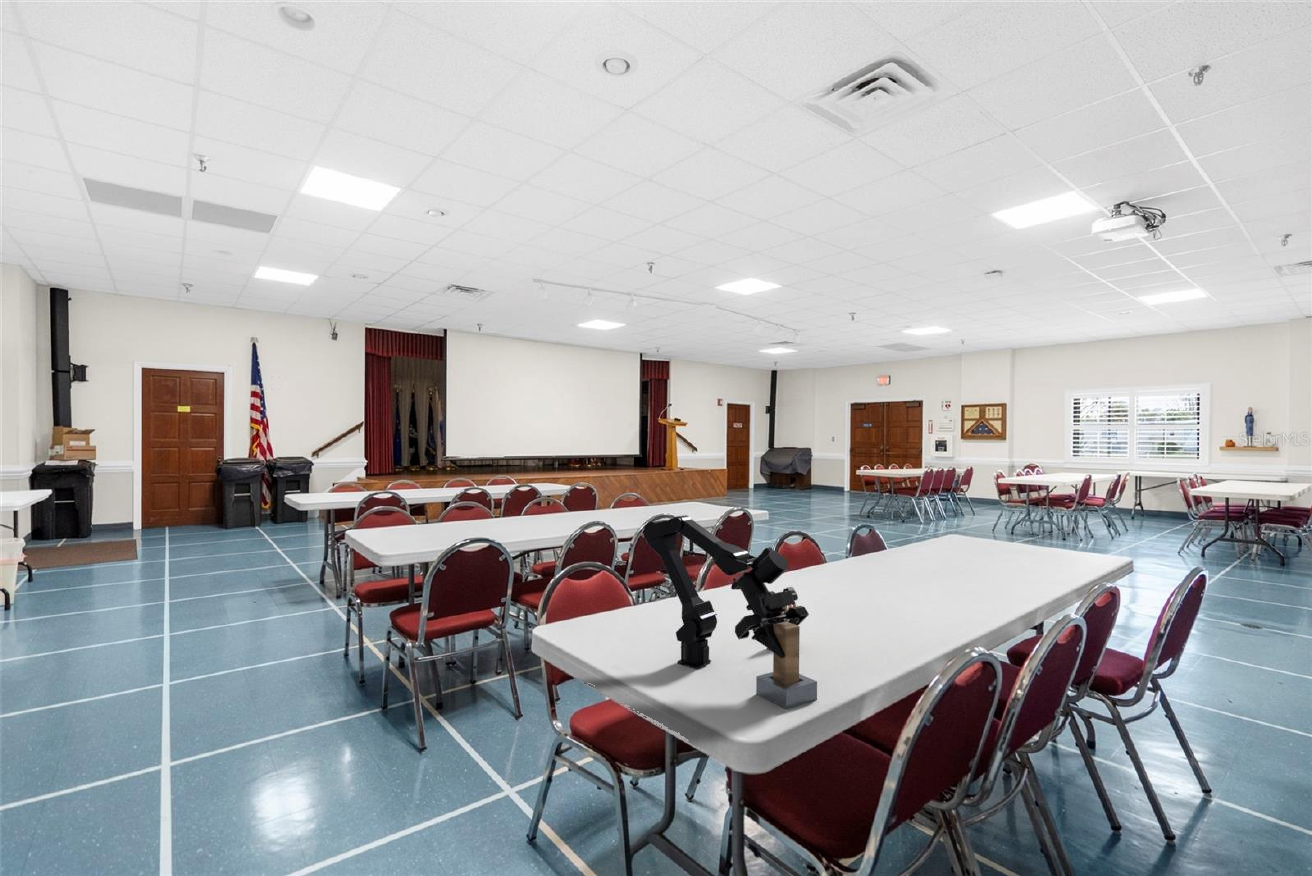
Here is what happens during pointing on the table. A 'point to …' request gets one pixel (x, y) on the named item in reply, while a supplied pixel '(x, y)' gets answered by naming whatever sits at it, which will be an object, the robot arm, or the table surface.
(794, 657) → the walnut peg
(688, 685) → the table surface
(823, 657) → the table surface
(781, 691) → the square collar
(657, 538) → the robot arm
